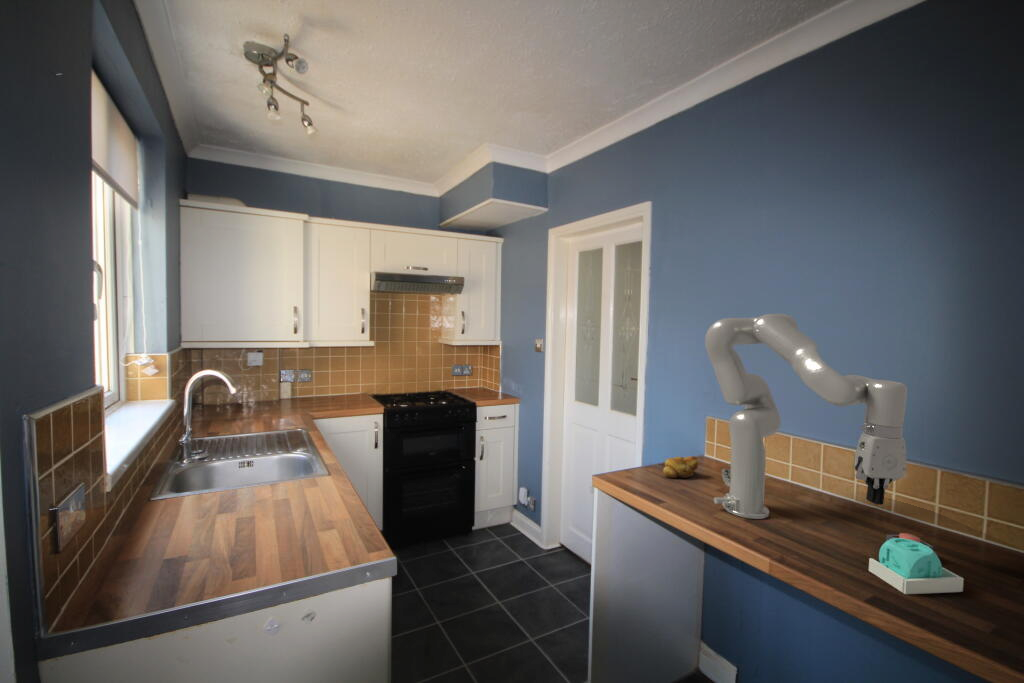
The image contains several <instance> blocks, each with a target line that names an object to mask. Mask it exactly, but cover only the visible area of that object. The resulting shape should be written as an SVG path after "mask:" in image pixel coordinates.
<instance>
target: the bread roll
mask: <svg viewBox="0 0 1024 683" xmlns="http://www.w3.org/2000/svg"><path fill="white" fill-rule="evenodd" d="M698 467H699V460H698V458H697V457H696V456H693V455H692V456H686V457H683V456H676V457H675V456H674V457H669V458H668V459H666V460H665V461H664V467H663V469H662V473H663V475H664V477H667V478H670V479H671V478H672V479H677V478H680V479H681V478H682V479H688V478H691V477H693V476H694V473H695V471H696V470H697V469H698Z"/></svg>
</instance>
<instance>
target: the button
mask: <svg viewBox="0 0 1024 683" xmlns="http://www.w3.org/2000/svg"><path fill="white" fill-rule="evenodd" d="M898 534H899V538H904V539H909V540H913V541H916V542H919V543H920V540H921V538H920V537H919V536H916V535H914V534H911V533H907V532H900V533H898Z"/></svg>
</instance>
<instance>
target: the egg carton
mask: <svg viewBox="0 0 1024 683" xmlns="http://www.w3.org/2000/svg"><path fill="white" fill-rule="evenodd" d="M721 473H722V474H721V478H722V479H723V483H724V485H725V486H727V487H729V488H730V469H725V468H722V469H721Z"/></svg>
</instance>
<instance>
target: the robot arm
mask: <svg viewBox="0 0 1024 683" xmlns="http://www.w3.org/2000/svg"><path fill="white" fill-rule="evenodd" d="M756 344H765V346H766V347H768V348H769V349H771V350H772V351H773V352H774V353H776V354H777V355H779V357H781V358H782V359H783V360H784V361H786V363H788V364H789V365H790V366H792V369H793V371H794V372H795V374H797V376H798V378H799V379H800V380H801V381H802V382H803V384H805V386H807V388H809V389H810V390H811V391H813V392H814V393H815V394H816V395H817V396H819V397H820V398H821V399H823V400H824V401H826V402H827V403H829V404H830V405H833V406H834V407H835V406H836V407H840V408H843V407H844V408H845V407H849V406H853V405H859V404H860V405H861V404H862V405H864V404H865V409H864V410H865V411H864V417H863V418H864V419H863V420H864V421H863V425H861V427H860V430H861V431H862V433H860V437H859V439H858V442H857V446H856V450H855V456H854V466H853V468H854V470H855V471H856V474H855V479H858V480H860V481H862V482H864V483H865V485H866V486H867V490H866V501H868V502H870V503H872V504H874V505H876V506H878V505H881V506H882V505H884V502H885V501H884V500H885V491H886V490H887V489H888V488H889V485H890V484H891V483H892V482H894V481H898V480H899V479H901V478H904V477H905V475H906V471H907V470H906V469H907V446H906V440H905V438H904V437H903V432H904V423H905V422H904V421H905V414H906V404H907V397H908V388H907V385H906V384H904V383H903V382H899V381H893V380H888V379H887V380H885V379H874V378H870V377H867V376H863V375H857V374H848V375H847V374H846V375H842V374H840V373H839V372H838V371H836V370H835V369H834V368H832V367H831V366H830V365H828V364H827V363H826V362H825V361H824V360H823V359H822V358H821V357H820V355H819V353H818V345H817V343H816V342H815V341H814V340H812V339H811V338H810V337H808V336H807V335H805V334H804V333H803V332H801V331H800V330H799V326H798V323H797V321H796V320H795V319H794V317H792V316H790V315H788V314H784V313H767V314H763V315H760V316H758V317H755V316H754V317H743V318H742V317H726V318H725V317H724V318H722V319H719V320H716V321H715V322H714V323H713V324H711V325H710V327H709V328H708V329H707V332H706V334H705V339H704V346H705V350H706V353H707V356H708V358H709V360H710V362H711V365H712V367H713V370H714V374H715V377H716V379H717V383H718V385H719V389H720V391H721V394H722V396H723V398H724V400H725V401H726V402H727V404H729V405H732V406H744V408H745V409H744V408H743V409H741V410H738V411H736V412H735V413H734V414H733V415H732V416H731V418H730V419H729V423H728V431H729V437H730V469H729V470H730V478H729V479H730V487H729V492H726V493H725V495H724V496H723V497H721V496H720V497H719V496H715V497H713V502H714V504H716V505H720V504H721V505H722V506H723V508H724V509H725V511H727V512H728V513H729V514H732V515H734V516H738V517H739V518H745V519H752V520H762V519H763V520H764V519H766V518H768V517H769V516H770V510H769V508H768V507H767V506H765V505H764V504H765V503H764V502H765V481H766V462H767V460H766V458H767V457H766V448H765V444H764V439H765V438H768V437H771V436H773V435H775V434H777V432H778V431H779V430H780V428H781V425H782V424H781V422H782V420H781V415H780V414H779V413H780V412H779V410H778V407H777V404H776V403H775V400H774V397H773V394H772V392H771V389H770V387H769V386H768V383H767V382H766V381H765V379H764V378H762V377H761V376H760V375H758V374H756V373H749V372H748V373H747V371H746V369H745V367H744V364H743V361H742V358H741V356H740V355H739V354H738V352H737V351H736V350H735V348H734V346H737V345H739V346H740V345H756Z"/></svg>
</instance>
